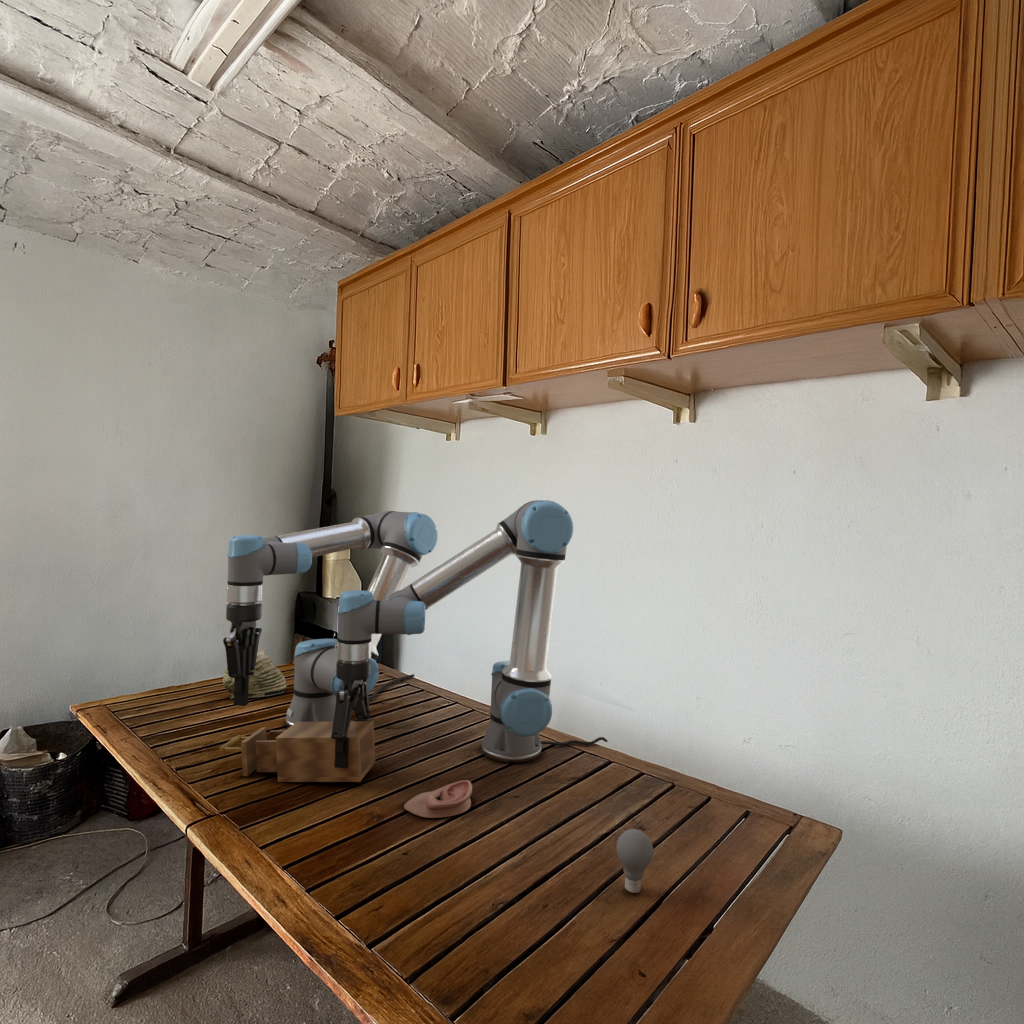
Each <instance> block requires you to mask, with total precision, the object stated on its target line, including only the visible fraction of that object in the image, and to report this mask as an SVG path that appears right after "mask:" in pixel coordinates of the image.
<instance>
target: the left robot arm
mask: <svg viewBox="0 0 1024 1024" xmlns="http://www.w3.org/2000/svg"><path fill="white" fill-rule="evenodd" d="M438 537H439V536H438V530H437V525H436V523H435V521H434V520H433V519H432V518H431V517H430V516H429V515H427V514H426V513H422V512H421V513H420V512H418V511H412V512H411V511H409V512H408V511H397V510H396V511H395V510H387V511H382V512H376V513H372V514H368V515H364V516H358V517H355V518H354V519H352V521H350V522H345V523H340V524H334V525H329V526H323V527H317V528H313V529H307V530H301V531H295V532H290V533H284V534H280V535H279V534H278V535H275V536H267V537H264V536H262V535H254V534H237V535H233V536H231V537H230V538H229V541H228V548H227V550H228V551H227V554H226V555H227V583H226V584H227V586H226V601H227V602H228V603H227V604H226V605H225V607H226V608H225V619H226V620H227V621H228V622H230V623H231V625H230V628H229V636H228V637H223V640H222V642H223V645H224V648H225V657H226V665H227V666H226V667H228V676H229V677H233V678H234V698H233V706H238V707H239V706H240V707H246V706H247V705H249V698H248V692H249V675H253V674H254V672H251V670H254V669H255V664H256V658H257V651H258V648H259V643H260V638H261V635H262V632H263V629H262V627H257V621H259V620H261V619H262V616H263V615H262V613H263V611H262V610H263V604H262V601H263V583H264V576H279V575H297V574H303V573H306V572H307V571H309V570H310V568H311V566H312V562H313V558H315V557H320V556H324V555H330V554H334V553H338V552H344V551H348V550H352V549H357V550H360V551H364V550H369V549H371V550H372V549H377V550H380V551H381V553H382V557H381V559H380V562H379V564H378V566H377V568H376V570H375V573H374V575H373V577H372V579H371V581H370V583H369V585H368V588H367V590H366V591H370V592H372V594H373V598H374V600H377V601H387V600H388V598H389V597H390V595H392V594H393V593H394V592H396V591H399V590H402V589H403V588H404V585H405V582H406V581H407V579H408V576H409V573H410V571H411V569H412V568H414V567H417V566H419V564H420V562H421V560H422V558H423V556H427V555H429V553H432V552H433V551H434V550H435V548H436V546H437V543H438ZM382 635H383V634H372V636H371V641H372V642H371V658H370V659H369V660H370V661H371V668H370V676H369V677H368V695H369V701H371V700H372V699H374V698H376V695H378V694H379V693H381V691H382V690H384V689H385V688H386V687H389V686H390V685H392V684H395V683H398V682H401V681H403V680H407V679H412V678H414V677H415V673H412V674H409V675H405V676H402V677H398V678H395V679H393V680H392V679H391V680H390V681H388V682H386V683H384V684H383V685H381V686H380V687H379V688H377V690H376V691H374V693H372V694H371V695H370V693H371V692H372V691H373V690H374V689H375V687H376V686H377V685H376V684H377V683H378V680H379V676H380V672H379V665H378V663H377V660H378V659H379V651H378V649H377V646H378V644H379V642H380V640H381V637H382ZM336 644H337V638H318V639H308V640H304V641H300V642H299V643H297V644H296V646H295V650H294V655H293V657H294V672H293V673H294V674H293V695H292V696H293V697H292V699H291V702H290V704H289V707H288V708H287V710H286V715H285V726H286V728H287V729H288V728H289V727H291V726H292V725H293V724H294V723H296V722H325V721H334V714H335V707H336V693H337V691H341V689H342V686H343V681H342V680H341V679H338V678H337V677H336V663H337V661H338V659H337V648H336V647H335V645H336Z"/></svg>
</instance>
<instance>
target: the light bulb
mask: <svg viewBox="0 0 1024 1024" xmlns="http://www.w3.org/2000/svg"><path fill="white" fill-rule="evenodd" d="M615 849H616V854H617V857H618V859H619V861H620V863H621V865H622V867H623V873H624V874H623V875H624V876H625V878H624V888H625V890H627V891H628V892H630V893H634V894H635V893H639V892H640V891H641V889H642V887H641V886H642V879H643V877H644V875H645V871H646V868H647V867H648V866H649V864H650V863H651V861H652V859H653V855H654V847H653V843H652V841H651V838H649V836H648V835H647V834H646V833H645V832H643V831H642V830H641V829H636V828H629V829H627V830H625V831H623V832H622V833H621V834H620V835H619V837H618V839H617V841H616V847H615Z"/></svg>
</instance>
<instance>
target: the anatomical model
mask: <svg viewBox="0 0 1024 1024" xmlns="http://www.w3.org/2000/svg"><path fill="white" fill-rule="evenodd" d="M472 793H473V785H472V782H471V781H470V780H468V779H466V780H464V779H463V780H458V781H455V782H453V783H449V784H446V785H444V786H441V787H440V788H437V789H434V790H432V791H425V792H422V793H419V794H416V795H415V796H414V797H412V798H410V799H409V800H407V801H406V802H405V804H403V808H404V810H406V811H408V812H409V813H411V814H413V815H415V816H418V817H421V818H424V819H437V818H447V817H452V816H457V815H460V814H462V813H465V812H467V811H468V810H469V809H470V808H471V806H472V801H471V798H470V797H471V796H472Z"/></svg>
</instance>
